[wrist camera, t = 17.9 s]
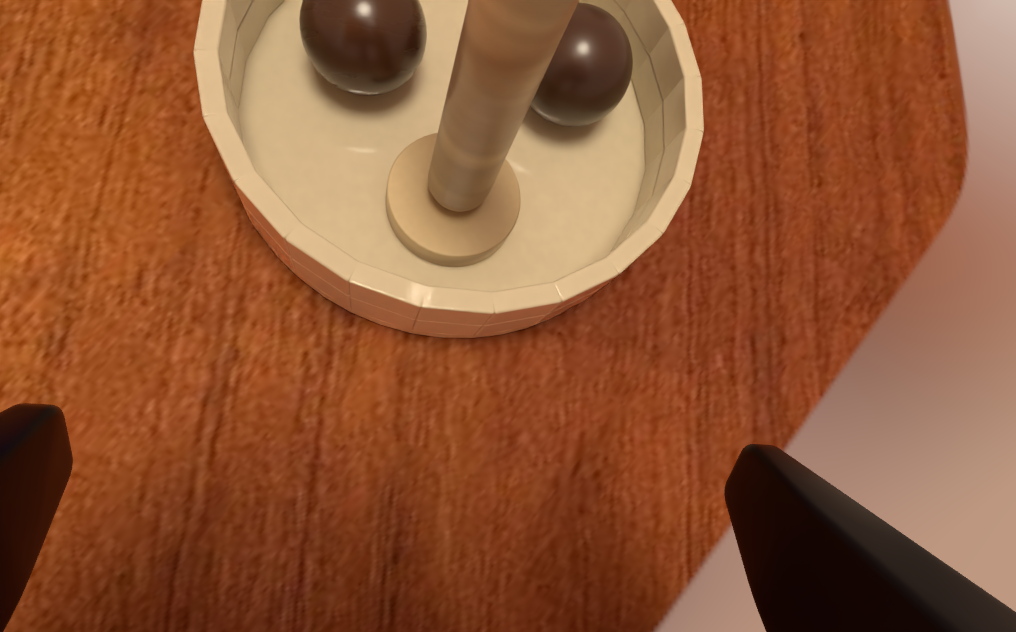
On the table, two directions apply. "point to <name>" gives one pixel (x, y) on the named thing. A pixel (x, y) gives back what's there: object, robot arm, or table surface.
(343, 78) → the bead
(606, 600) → the table surface
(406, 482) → the table surface
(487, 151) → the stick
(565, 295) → the bowl
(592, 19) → the bead
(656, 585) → the table surface
